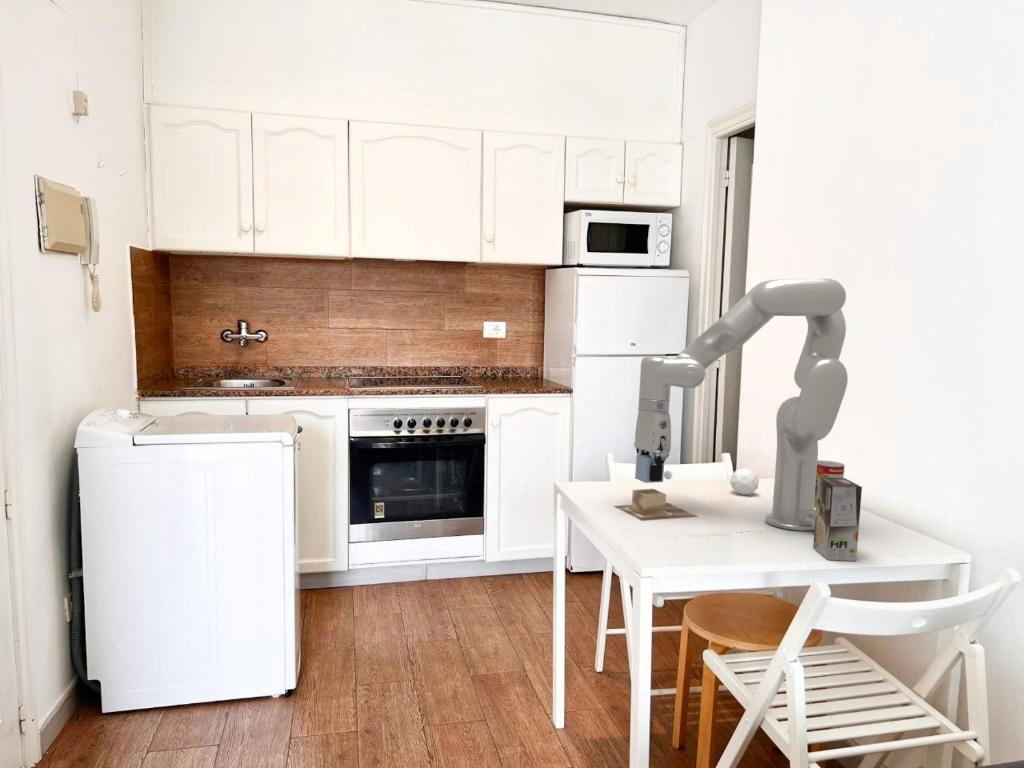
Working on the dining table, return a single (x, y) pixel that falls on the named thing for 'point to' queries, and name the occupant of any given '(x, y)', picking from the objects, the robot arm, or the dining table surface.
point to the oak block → (648, 502)
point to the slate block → (645, 468)
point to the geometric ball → (744, 481)
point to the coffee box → (837, 518)
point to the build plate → (670, 513)
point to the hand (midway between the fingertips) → (649, 477)
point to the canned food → (828, 472)
